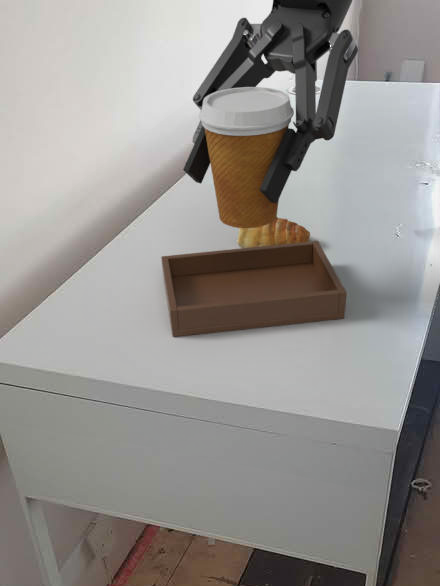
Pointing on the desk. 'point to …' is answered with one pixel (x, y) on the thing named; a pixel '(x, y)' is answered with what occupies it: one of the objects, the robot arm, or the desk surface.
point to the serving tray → (251, 288)
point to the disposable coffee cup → (244, 149)
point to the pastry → (273, 234)
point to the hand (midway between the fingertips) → (228, 186)
